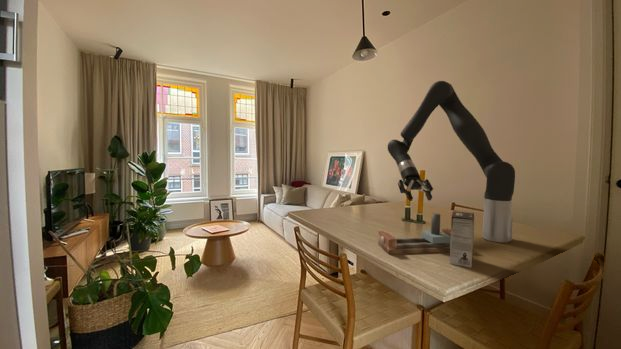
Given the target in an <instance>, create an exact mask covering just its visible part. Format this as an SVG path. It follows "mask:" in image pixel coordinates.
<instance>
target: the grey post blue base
mask: <svg viewBox="0 0 621 349" xmlns="http://www.w3.org/2000/svg"><path fill="white" fill-rule="evenodd" d="M430 226H431V227H430V228H431V229H430V230H421V231H420V238H424V239H426V240H428V241H429V242H431V243H433V244H434V243H450V241H451V237H450V236H448V235H446V234H444V233H442V231H441V214H440V213H431V225H430Z"/></svg>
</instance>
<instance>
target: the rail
mask: <svg viewBox="0 0 621 349" xmlns="http://www.w3.org/2000/svg"><path fill="white" fill-rule="evenodd" d="M377 232H378V233H377V234H378V235H377V236H378V237H377V238H378V239H377V240H378V243H377V244H378V246H379V247H380V248H381V249H382V250H383V251H384V252H385V253H386V254H387V255H401V254H402V255H404V254H407V255H408V254H409V255H410V254H425V253H426V254H429V253H431V254H432V253H450V246H451V241H450V243H434V244H433V243H431V242H429V241H428V240H426V239H424V238H423V237H403V238H399V237H398V238H396V237H394V236H393V235H392V234H390V233H389V232H388V231H386V230H378V231H377ZM441 232H442V233H444V234H446V235H448V236H450V237H451V228H443V229H441Z"/></svg>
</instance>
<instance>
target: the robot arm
mask: <svg viewBox="0 0 621 349" xmlns="http://www.w3.org/2000/svg"><path fill="white" fill-rule="evenodd" d="M438 106H440V108H441V109H442V110H443V112H444V113H445V114H446V116H447V118H448V120H449V123H450V125H451V127H452V130H453V132H454V133H455V134H456V136H457V138H459V140H460V141H461V143H462V144H463V145H464V147H465V148H466V150H468V151H469V152H470V154H471V155H472V156H473V157H474V158H475V159H476V162H477V163H478V165H479V166H480V168H481V170H482V172H483V174H484V176H485V178H486V186H485V191H484V195H483V196H484V197H483V199H484V200H483V217H482V218H483V219H482V221H483V222H482V239H485V240H487V241H490V242H493V243H494V242H495V243H500V244H501V243H504V244H505V243H509V242H512V241H513V226H514V224H513V220H514V219H513V218H512V202H513V196H514V192H515V182H516V170H515V167H514V166H513V165H512V164H511V163H509V162H508V161H504V160H502V158H501V157H500V156H499V155H498V154H497V152H496V151H495V150H494V149H493V147H492V145H491V141H490V140H489V138H488V136H487V133H486V131H485V130H484V128H483V127H482V125H481V124H480V123H479V121H478V120H477V119H476V118H475V116H474V115H473V114H472V113H471V111H469V110H468V108H466V106H465V105H464V104H463V103H462V101H461V99H460V97H459V96H458V94H457V92H456V91H455V89H454V87H453V85H452V84H451V83H449V82H447V81H445V80H438V81H435V82H434V83H433V84H431V85H430V87H429V89H428V90H427V92H426V94H425V96H424V98H423V100H422V102H421V103H420V105H419V107H418V108H417V110H416V111H415V112H414V113H413V116H412V117H411V118H410V119H409V121H408V122H407V123H406V125H405V126H404V128H403V129H402V130H401V132H400V136H401V138H402V139H403V140H402V141H400V140H398V139H391V140H390V141H389V142H388V143H387V151H388V153H389V154H390V156H391V158H392V159H393V160H394V161H395V163H396V165H397V168H398V172H399V174H400V176H401V179H399V180H398V181H397V182H398V183H397V185H398V189H399V192H400V194H405V196H406V198H407V200H408V201H409V202H412V201H413V199H414V198H413V195H412V192H411V191H414V190H417V191H419V192H423V193H424V194H425V196H426V199H427V201H430V202H431V201H432V199H433V195H432V192H433V190H434V188H433V186H432V184H431V182H430V181H429V179H427V178H425V180H422V179H421V175H420V172H419V171H418V169H417V167H416V165H415V163H414V162H413V160H412V158H411V156H410V154H409V151H410V149H411V146H412V144H413V142H414V139H415V138H416V137H417V136H418V134H419V133H420V132H421V130H422V129H423V128H424V126H425V124H426V123H427V120H428V119H429V117H430V116H431V115H432V113H433V112H434V111H435V110H436V108H438ZM405 187H406V188H405ZM410 190H411V191H410Z"/></svg>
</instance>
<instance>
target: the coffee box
mask: <svg viewBox="0 0 621 349" xmlns="http://www.w3.org/2000/svg"><path fill="white" fill-rule="evenodd" d="M450 220H451V224H450V226H451V228H450V230H451V246H450V252H449V265H454V266H455V265H456V266H459V267H465V268H470V269H472V268H473V254H474V253H473V252H474V236H475V234H474V233H475V232H474V230H475V214H474V212H466V211H452V214H451V219H450Z"/></svg>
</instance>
